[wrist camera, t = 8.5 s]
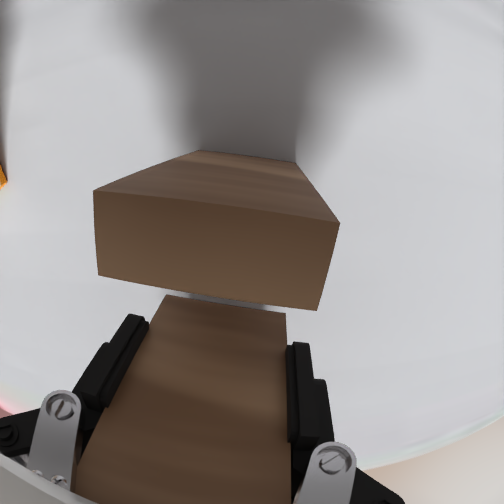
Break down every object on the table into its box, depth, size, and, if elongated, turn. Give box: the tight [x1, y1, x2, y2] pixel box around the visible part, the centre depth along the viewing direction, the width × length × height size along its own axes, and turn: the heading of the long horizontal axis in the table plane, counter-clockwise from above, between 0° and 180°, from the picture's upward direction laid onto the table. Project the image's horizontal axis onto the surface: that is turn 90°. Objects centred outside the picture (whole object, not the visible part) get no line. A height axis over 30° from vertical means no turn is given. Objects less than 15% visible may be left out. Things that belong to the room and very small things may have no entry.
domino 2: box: [75, 294, 291, 504], centre depth 8 cm, size 2×5×10 cm, turn 82°
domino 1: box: [93, 150, 340, 311], centre depth 10 cm, size 2×5×10 cm, turn 82°
